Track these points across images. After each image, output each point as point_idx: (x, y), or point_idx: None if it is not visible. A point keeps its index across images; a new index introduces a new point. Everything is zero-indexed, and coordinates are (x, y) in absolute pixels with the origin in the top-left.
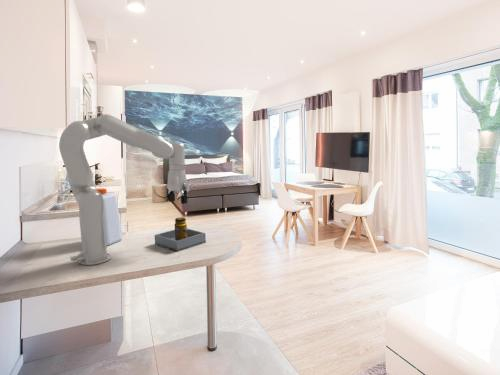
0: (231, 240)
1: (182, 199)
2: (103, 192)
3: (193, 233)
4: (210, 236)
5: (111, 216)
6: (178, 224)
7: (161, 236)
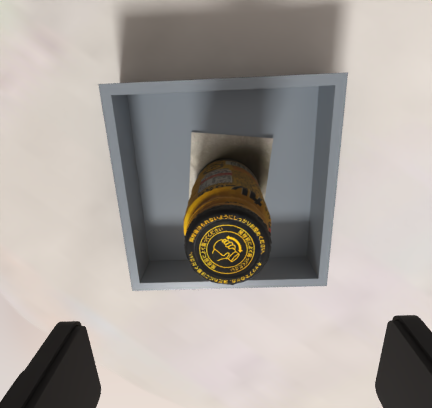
0: None
1: (19, 391)
2: None
3: None
4: (203, 326)
5: None
6: (205, 199)
7: (274, 83)
